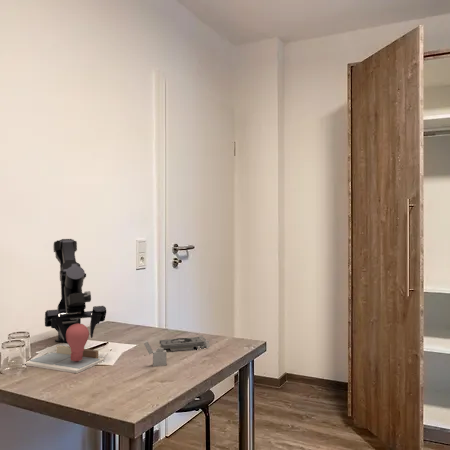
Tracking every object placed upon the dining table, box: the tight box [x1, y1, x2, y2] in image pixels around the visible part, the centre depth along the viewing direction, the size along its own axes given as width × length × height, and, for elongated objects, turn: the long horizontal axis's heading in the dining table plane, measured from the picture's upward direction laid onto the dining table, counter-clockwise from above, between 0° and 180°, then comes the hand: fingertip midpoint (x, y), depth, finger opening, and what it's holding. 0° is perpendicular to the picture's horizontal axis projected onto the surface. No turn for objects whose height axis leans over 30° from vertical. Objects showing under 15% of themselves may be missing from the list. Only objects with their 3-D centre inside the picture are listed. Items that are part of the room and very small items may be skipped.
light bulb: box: [65, 323, 90, 362], centre depth 143 cm, size 7×7×12 cm
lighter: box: [143, 339, 167, 367], centre depth 143 cm, size 7×2×8 cm, turn 105°
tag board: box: [25, 345, 105, 374], centre depth 145 cm, size 21×13×3 cm, turn 67°
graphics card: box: [159, 333, 211, 352], centre depth 164 cm, size 17×4×12 cm
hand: (78, 338), depth 142 cm, fingers open, 8 cm apart
